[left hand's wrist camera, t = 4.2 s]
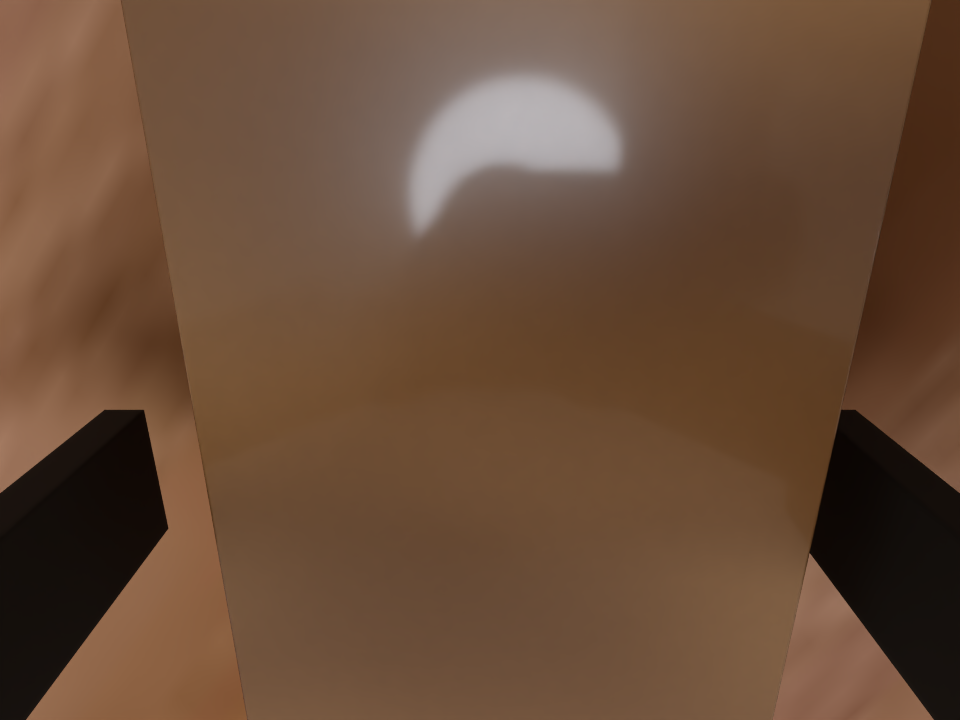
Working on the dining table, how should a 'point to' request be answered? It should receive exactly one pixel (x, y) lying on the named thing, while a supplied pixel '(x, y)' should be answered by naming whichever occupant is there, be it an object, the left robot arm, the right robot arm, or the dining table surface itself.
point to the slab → (518, 334)
